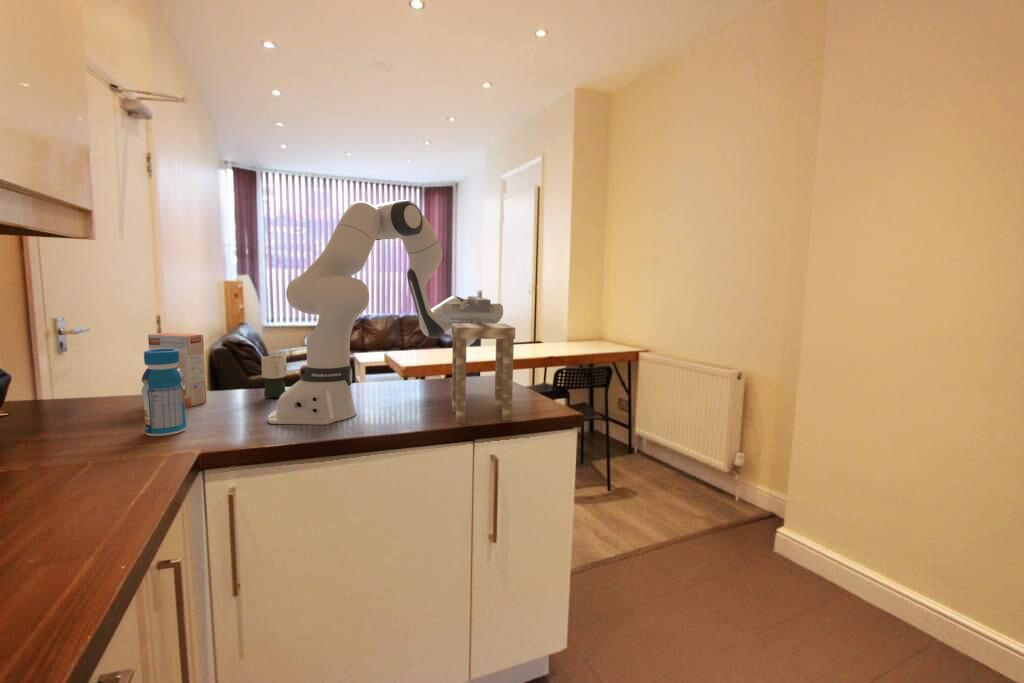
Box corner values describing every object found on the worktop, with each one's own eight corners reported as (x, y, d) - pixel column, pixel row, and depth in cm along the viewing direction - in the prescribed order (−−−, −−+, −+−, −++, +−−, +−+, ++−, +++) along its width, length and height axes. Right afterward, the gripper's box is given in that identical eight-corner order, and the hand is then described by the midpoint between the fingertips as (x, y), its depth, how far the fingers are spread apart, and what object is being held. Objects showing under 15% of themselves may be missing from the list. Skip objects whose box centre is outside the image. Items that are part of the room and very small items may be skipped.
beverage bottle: (165, 438, 110) (160, 353, 108) (135, 435, 112) (129, 351, 109) (196, 428, 118) (191, 349, 116) (167, 425, 120) (162, 347, 118)
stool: (455, 422, 128) (456, 327, 125) (450, 409, 142) (451, 323, 139) (513, 420, 132) (515, 327, 129) (503, 407, 145) (504, 323, 142)
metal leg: (477, 312, 131) (478, 299, 131) (467, 307, 152) (467, 296, 152) (490, 312, 132) (490, 300, 131) (478, 307, 153) (478, 296, 153)
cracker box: (207, 403, 142) (204, 334, 140) (190, 408, 137) (186, 336, 134) (170, 399, 146) (166, 331, 143) (151, 404, 140) (146, 333, 137)
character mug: (292, 398, 150) (291, 358, 148) (268, 402, 145) (267, 360, 144) (281, 392, 158) (279, 354, 156) (257, 395, 153) (256, 356, 151)
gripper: (438, 311, 160) (441, 291, 148) (498, 311, 165) (505, 292, 152) (439, 328, 158) (441, 309, 145) (499, 328, 162) (507, 310, 150)
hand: (474, 301), depth 149 cm, fingers closed on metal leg, 3 cm apart
